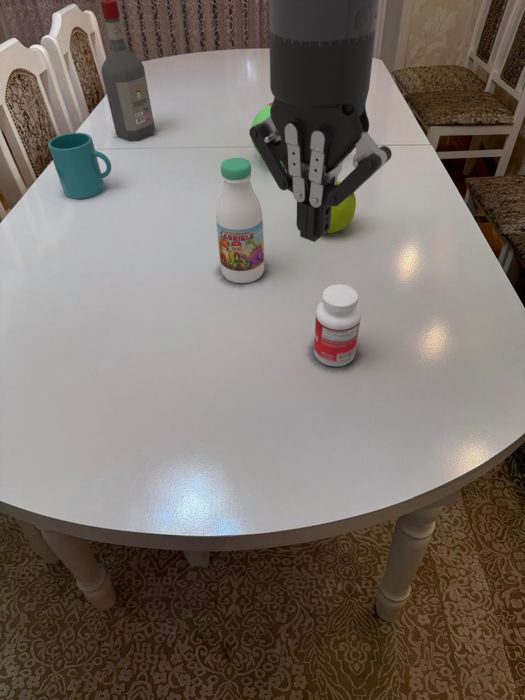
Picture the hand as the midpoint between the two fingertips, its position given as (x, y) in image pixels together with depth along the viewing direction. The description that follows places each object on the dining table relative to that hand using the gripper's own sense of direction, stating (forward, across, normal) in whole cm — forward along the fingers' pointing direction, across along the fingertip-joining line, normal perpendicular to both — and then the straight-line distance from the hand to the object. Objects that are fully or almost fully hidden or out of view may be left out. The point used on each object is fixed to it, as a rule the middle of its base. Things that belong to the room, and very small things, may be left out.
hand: (312, 235), depth 47 cm
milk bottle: (+27, +26, -20) cm, 43 cm away
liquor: (+27, +90, -53) cm, 108 cm away
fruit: (+27, +21, -41) cm, 53 cm away
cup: (+27, +74, -25) cm, 83 cm away
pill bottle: (+27, +2, -12) cm, 30 cm away
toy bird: (+27, +45, -61) cm, 81 cm away
